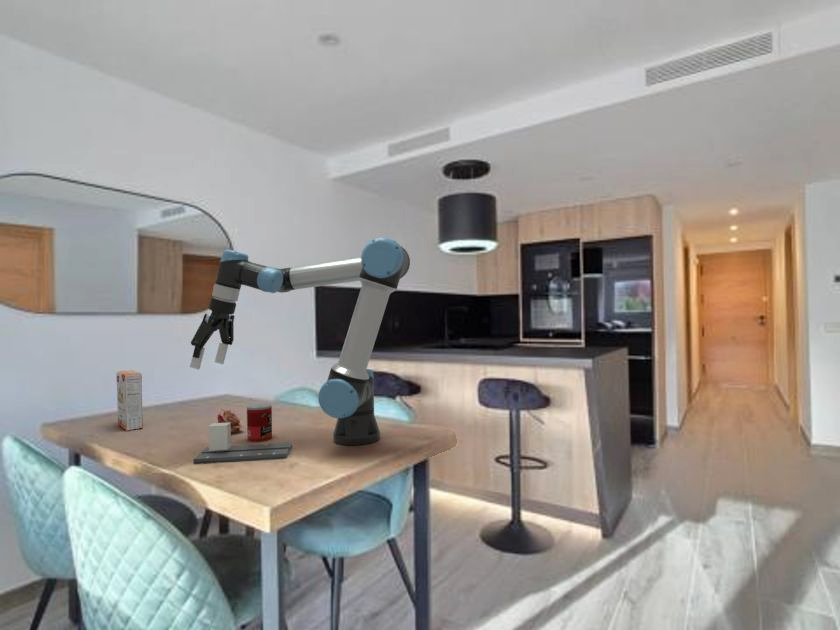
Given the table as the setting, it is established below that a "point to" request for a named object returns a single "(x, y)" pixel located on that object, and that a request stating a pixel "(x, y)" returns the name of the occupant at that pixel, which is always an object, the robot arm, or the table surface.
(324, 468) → the table surface
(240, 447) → the fader panel
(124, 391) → the cracker box
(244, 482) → the table surface
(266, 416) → the canned food
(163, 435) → the table surface
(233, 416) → the flower
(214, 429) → the fader
